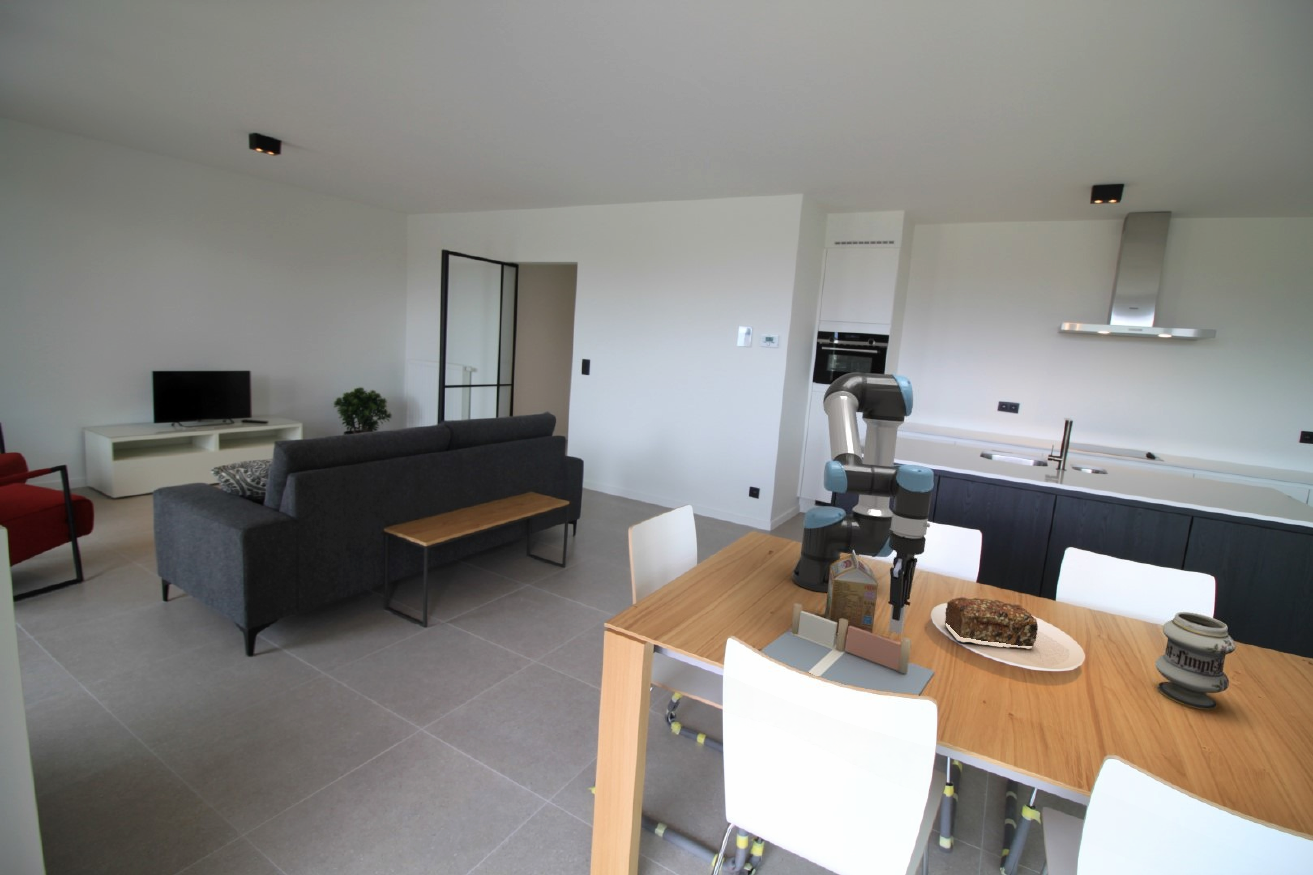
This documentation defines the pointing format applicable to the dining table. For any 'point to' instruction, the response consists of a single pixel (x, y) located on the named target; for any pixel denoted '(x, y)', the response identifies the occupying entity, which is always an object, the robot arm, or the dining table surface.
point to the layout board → (845, 665)
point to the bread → (991, 621)
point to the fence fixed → (819, 628)
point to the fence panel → (879, 648)
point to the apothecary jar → (1194, 659)
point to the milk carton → (852, 593)
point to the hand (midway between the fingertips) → (895, 631)
